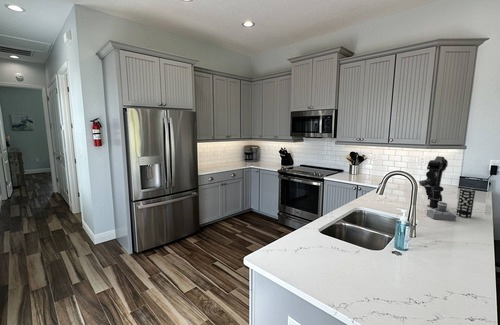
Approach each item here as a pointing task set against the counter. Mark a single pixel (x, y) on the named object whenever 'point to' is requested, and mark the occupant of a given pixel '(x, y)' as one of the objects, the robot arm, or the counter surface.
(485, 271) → the counter surface
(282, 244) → the counter surface
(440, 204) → the lens
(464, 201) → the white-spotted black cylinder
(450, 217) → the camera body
